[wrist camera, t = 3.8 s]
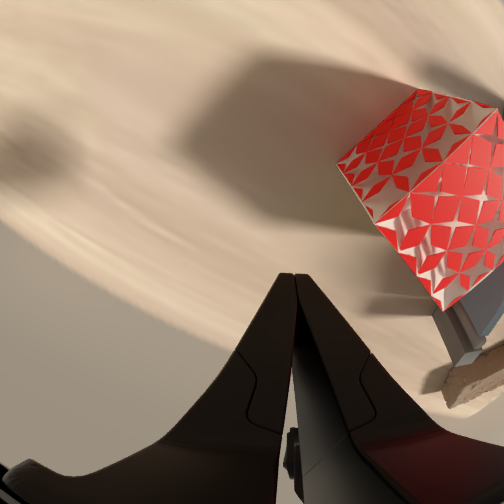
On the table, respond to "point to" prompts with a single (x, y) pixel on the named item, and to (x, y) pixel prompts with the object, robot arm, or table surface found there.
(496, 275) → the door
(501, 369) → the brick
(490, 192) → the red white patterned box
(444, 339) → the door frame
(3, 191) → the table surface
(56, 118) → the table surface
